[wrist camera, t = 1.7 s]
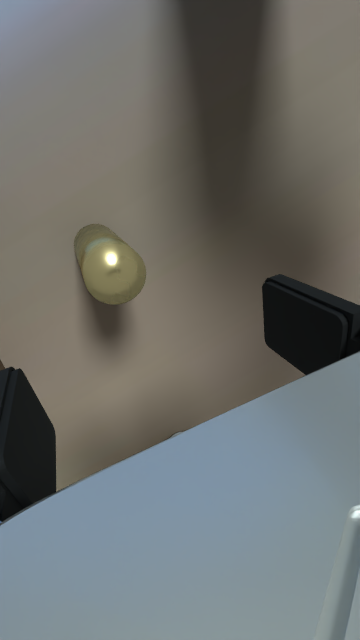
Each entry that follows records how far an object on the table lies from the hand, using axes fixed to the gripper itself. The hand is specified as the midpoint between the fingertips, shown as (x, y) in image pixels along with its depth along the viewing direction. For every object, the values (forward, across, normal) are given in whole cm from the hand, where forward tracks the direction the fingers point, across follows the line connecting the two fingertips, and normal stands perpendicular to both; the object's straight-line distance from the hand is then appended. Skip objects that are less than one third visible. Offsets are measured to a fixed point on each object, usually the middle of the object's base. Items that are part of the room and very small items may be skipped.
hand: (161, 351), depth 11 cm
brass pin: (+20, 0, 0) cm, 20 cm away
